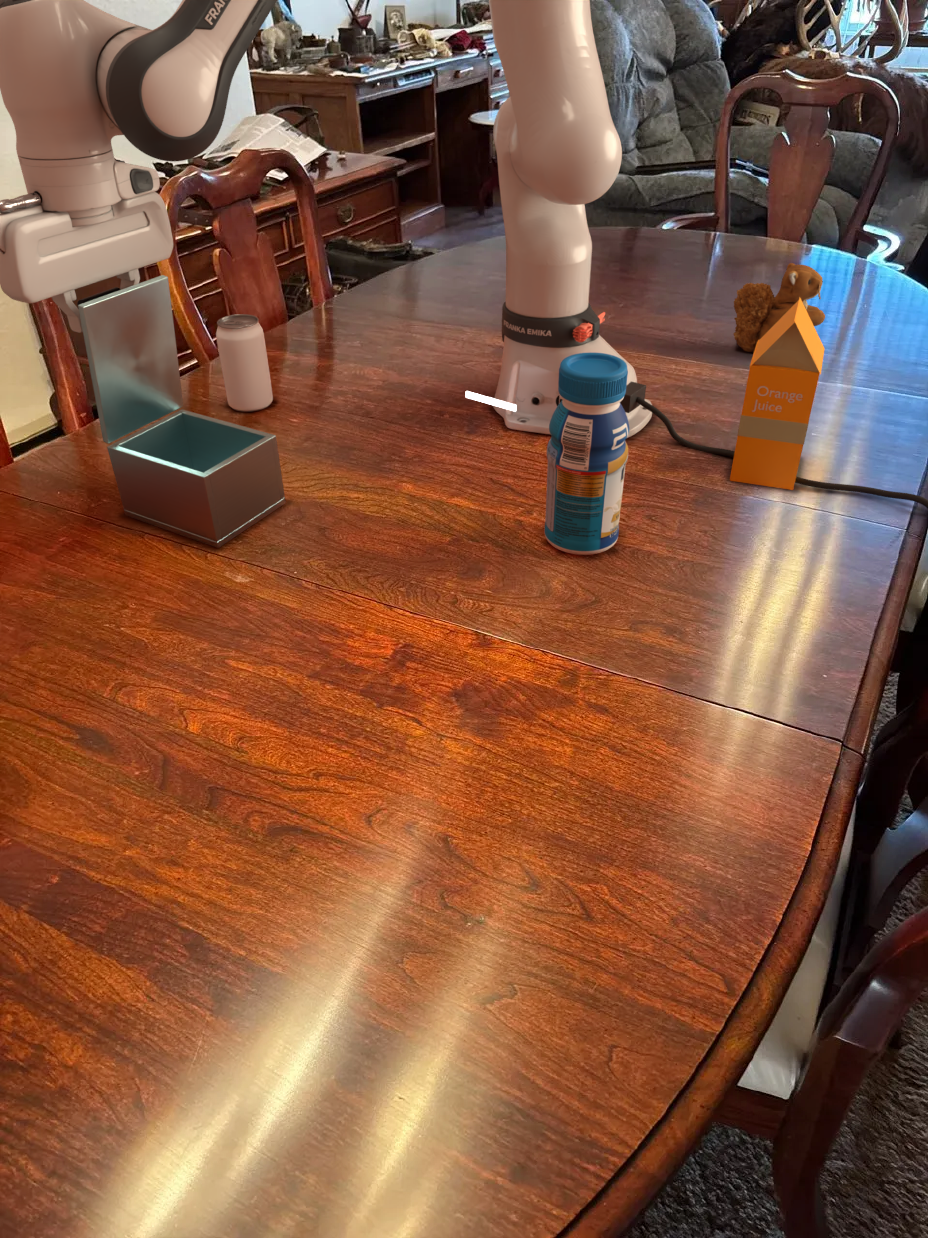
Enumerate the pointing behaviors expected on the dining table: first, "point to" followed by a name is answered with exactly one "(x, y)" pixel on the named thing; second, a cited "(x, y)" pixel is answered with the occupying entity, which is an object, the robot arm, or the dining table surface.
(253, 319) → the can
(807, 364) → the orange juice
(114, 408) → the lid
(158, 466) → the open metal box
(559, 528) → the beverage bottle
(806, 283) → the stuffed squirrel
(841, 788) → the dining table surface
